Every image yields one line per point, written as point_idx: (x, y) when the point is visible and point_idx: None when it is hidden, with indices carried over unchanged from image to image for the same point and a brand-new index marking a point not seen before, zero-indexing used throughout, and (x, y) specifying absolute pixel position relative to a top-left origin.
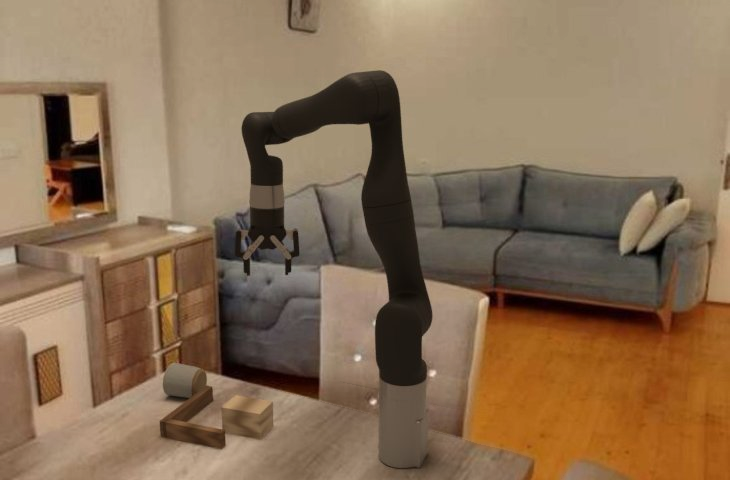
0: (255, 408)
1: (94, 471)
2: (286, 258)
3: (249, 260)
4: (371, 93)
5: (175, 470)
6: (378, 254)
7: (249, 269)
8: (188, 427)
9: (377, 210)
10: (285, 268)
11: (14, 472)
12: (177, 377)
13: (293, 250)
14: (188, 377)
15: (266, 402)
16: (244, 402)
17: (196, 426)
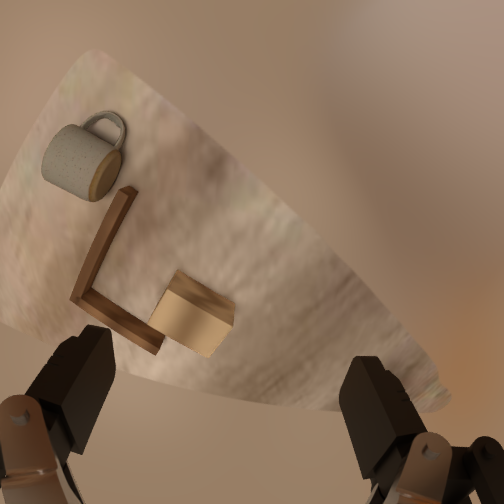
0: (202, 341)
1: (41, 338)
2: (378, 478)
3: (81, 454)
4: None
5: None
6: None
7: (101, 404)
8: (109, 326)
9: None
10: (350, 430)
11: None
12: (63, 188)
13: (462, 484)
14: (80, 195)
15: (221, 328)
16: (183, 318)
17: (119, 329)
